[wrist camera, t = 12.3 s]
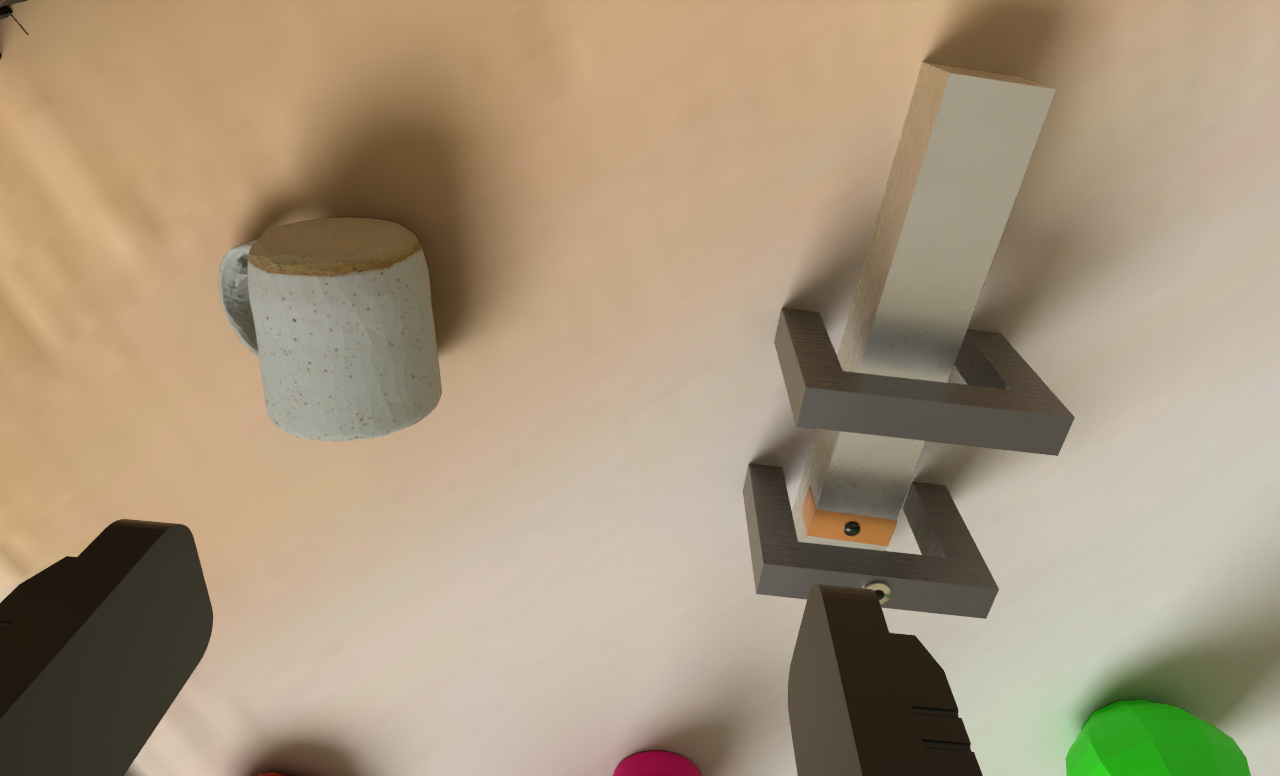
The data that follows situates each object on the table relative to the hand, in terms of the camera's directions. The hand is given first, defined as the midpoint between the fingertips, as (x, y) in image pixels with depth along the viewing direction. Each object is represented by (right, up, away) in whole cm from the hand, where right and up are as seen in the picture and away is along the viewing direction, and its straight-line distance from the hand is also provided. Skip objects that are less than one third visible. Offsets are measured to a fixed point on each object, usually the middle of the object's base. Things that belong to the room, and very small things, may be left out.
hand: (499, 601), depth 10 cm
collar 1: (+14, +5, +27) cm, 31 cm away
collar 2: (+13, -3, +32) cm, 34 cm away
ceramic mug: (-12, +7, +28) cm, 31 cm away
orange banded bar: (+14, +5, +28) cm, 32 cm away
